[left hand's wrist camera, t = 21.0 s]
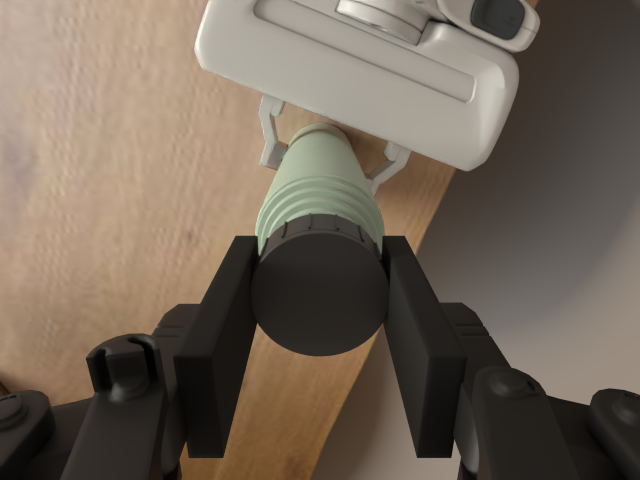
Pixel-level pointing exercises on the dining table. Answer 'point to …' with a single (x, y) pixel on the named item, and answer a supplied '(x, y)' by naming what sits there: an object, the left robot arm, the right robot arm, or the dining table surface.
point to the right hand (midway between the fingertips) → (316, 183)
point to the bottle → (319, 184)
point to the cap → (320, 286)
